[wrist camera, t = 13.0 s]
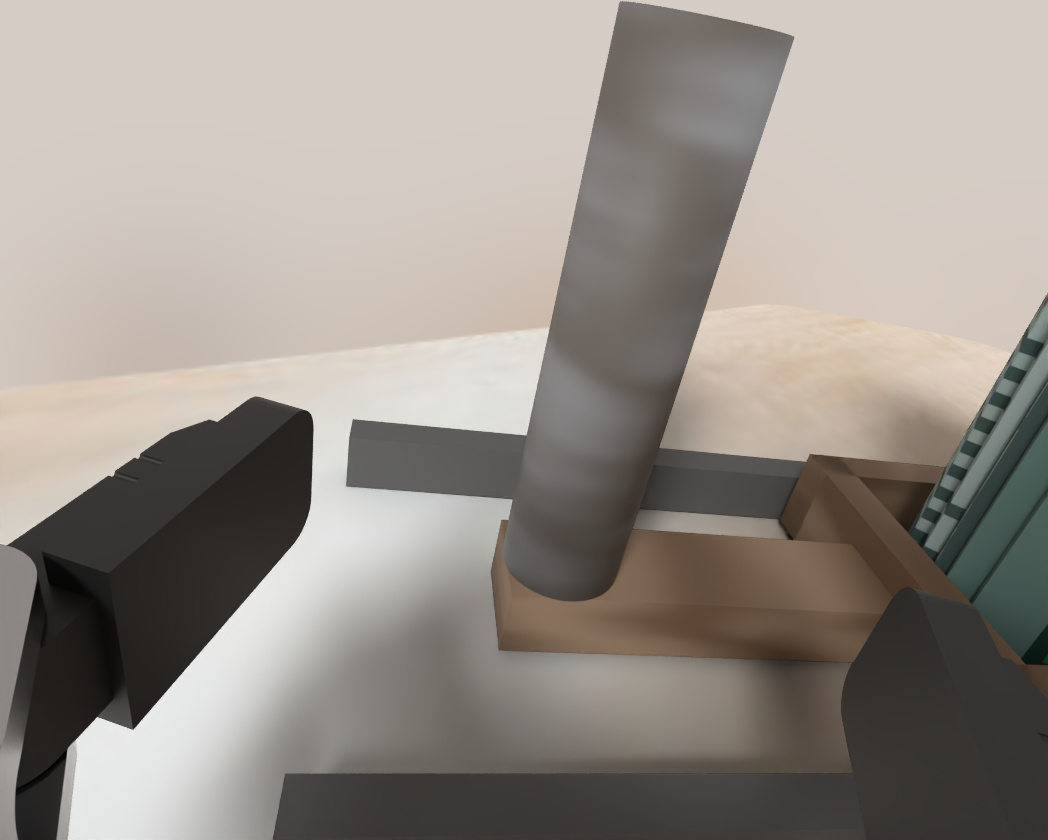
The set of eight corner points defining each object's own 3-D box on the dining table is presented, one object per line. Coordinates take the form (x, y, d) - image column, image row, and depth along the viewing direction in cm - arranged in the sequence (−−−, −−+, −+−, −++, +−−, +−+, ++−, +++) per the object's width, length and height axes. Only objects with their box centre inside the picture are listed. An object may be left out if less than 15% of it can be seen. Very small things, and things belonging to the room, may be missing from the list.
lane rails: (1078, 525, 31) (1104, 489, 30) (1489, 858, 19) (1555, 817, 18) (349, 466, 25) (353, 419, 24) (272, 898, 13) (272, 839, 12)
